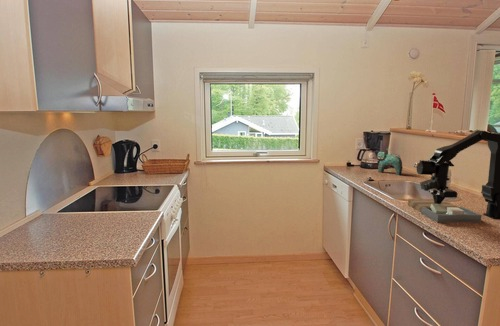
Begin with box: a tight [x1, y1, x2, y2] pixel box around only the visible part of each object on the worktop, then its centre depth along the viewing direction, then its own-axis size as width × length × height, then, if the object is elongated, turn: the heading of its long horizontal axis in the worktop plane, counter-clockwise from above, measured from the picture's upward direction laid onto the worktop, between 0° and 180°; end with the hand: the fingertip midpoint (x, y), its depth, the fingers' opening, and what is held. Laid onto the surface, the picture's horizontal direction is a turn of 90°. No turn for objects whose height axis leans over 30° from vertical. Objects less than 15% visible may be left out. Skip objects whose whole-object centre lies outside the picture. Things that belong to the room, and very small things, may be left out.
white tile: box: [447, 207, 464, 214], centre depth 149 cm, size 5×5×2 cm
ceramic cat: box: [376, 148, 403, 176], centre depth 254 cm, size 20×6×20 cm, turn 40°
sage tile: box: [430, 204, 447, 214], centre depth 149 cm, size 5×5×2 cm
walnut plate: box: [407, 199, 460, 213], centre depth 162 cm, size 14×18×3 cm
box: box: [420, 206, 483, 224], centre depth 148 cm, size 13×20×4 cm, turn 92°
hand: (436, 206), depth 152 cm, fingers closed
